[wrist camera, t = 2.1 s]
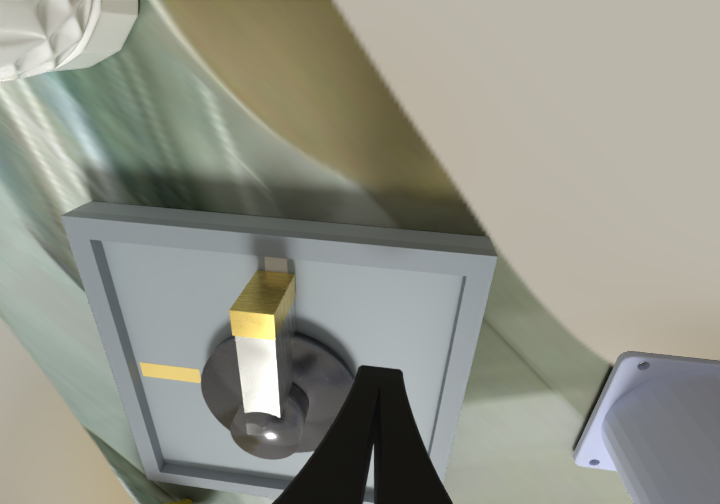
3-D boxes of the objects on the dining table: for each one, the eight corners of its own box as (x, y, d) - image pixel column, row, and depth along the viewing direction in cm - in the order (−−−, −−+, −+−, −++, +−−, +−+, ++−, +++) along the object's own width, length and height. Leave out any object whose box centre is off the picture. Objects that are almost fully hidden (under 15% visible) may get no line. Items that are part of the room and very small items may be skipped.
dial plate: (489, 236, 17) (497, 256, 15) (432, 491, 25) (433, 521, 23) (91, 201, 18) (60, 215, 16) (163, 453, 26) (147, 479, 25)
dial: (355, 448, 22) (348, 503, 19) (217, 429, 22) (192, 480, 20) (366, 281, 17) (358, 324, 14) (188, 263, 17) (148, 301, 15)
